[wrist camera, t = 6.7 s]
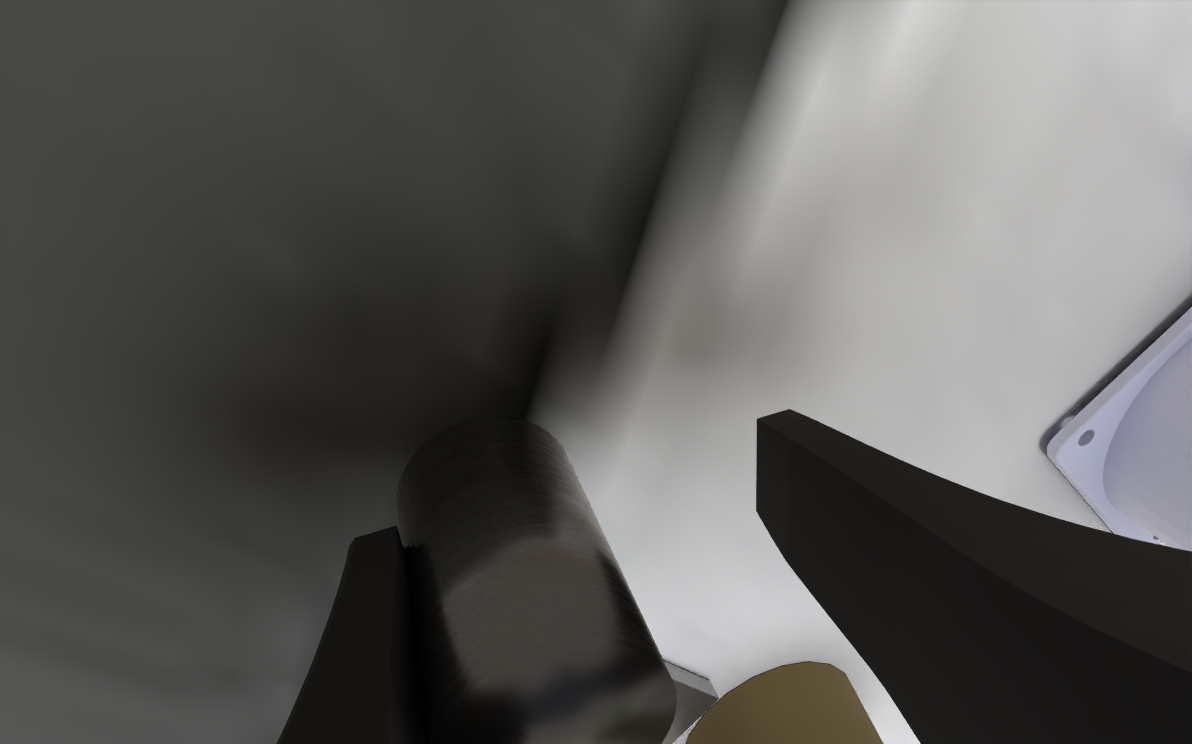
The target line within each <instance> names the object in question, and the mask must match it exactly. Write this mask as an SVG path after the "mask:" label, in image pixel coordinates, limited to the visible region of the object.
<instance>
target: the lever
mask: <svg viewBox="0 0 1192 744" xmlns="http://www.w3.org/2000/svg"><path fill="white" fill-rule="evenodd" d="M397 506H398V515H399V523H400V532H401V541H402V544H403V546H404V550H405V558H406V566H407V574H408V581H409V589H410V598H411V614H412V627H413V639H414V650H415V662H416V672H417V681H418V690H419V699H420V707H421V716H422V725H423V734H424V742H425V744H662V742H663V741H664V739H665V737H666V736H667V734H668V732H669V730H670V728H671V725H672V723H673V721H674V717H675V713H676V707H677V694H676V688H675V685H674V682H673V680H672V677H671V675H670V673H669V671H668V669H667V667H666V665H665V663H664V660H663V658H662V656H661V654H660V652H659V650H658V648H657V646H656V644H655V641H654V639H653V637H652V635H651V633H650V631H649V629H648V627H647V624H646V622H645V620H644V618H643V616H642V614H641V612H640V610H639V607H638V605H637V603H636V601H635V599H634V597H633V595H632V593H631V590H630V588H629V586H628V584H627V582H626V580H625V578H624V576H623V573H622V571H621V569H620V567H619V565H618V563H617V561H616V559H615V557H614V554H613V552H612V550H611V548H610V546H609V544H608V542H607V540H606V537H605V535H604V533H603V531H602V529H601V527H600V525H599V523H598V520H597V518H596V516H595V514H594V512H593V510H592V508H591V506H590V503H589V501H588V499H587V497H586V495H585V493H584V491H583V489H582V486H581V484H580V482H579V480H578V478H577V476H576V474H575V472H574V470H573V467H572V465H571V463H570V461H569V459H568V457H567V455H566V453H565V451H564V449H563V447H562V446H561V445H560V443H559V442H558V441H557V440H556V438H554V437H553V436H552V435H551V434H550V433H549V432H547V431H546V430H544V429H543V428H541V427H539V426H537V425H535V424H533V423H531V422H528V421H524V420H521V419H516V418H511V417H485V418H479V419H473V420H470V421H466V422H463V423H460V424H457V425H455V426H452V427H450V428H448V429H446V430H444V431H443V432H441V433H439V434H438V435H436V436H435V437H433V438H432V439H430V440H429V441H428V442H427V443H426V444H424V445H423V446H422V447H421V448H420V449H419V450H418V451H417V452H416V454H415V455H414V456H413V457H412V459H411V460H410V461H409V463H408V464H407V466H406V468H405V470H404V472H403V474H402V476H401V480H400V483H399V487H398V493H397Z"/></svg>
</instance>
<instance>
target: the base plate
mask: <svg viewBox="0 0 1192 744" xmlns="http://www.w3.org/2000/svg"><path fill="white" fill-rule="evenodd" d="M664 663H665V665H666V667H667V669H668V671H669V673H670V675H671V677H672V680H673V682H674V685H675V688H676V694H677V707H676V713H675V717H674V721H673V723H672V725H671V728H670V730H669V732H668V734H667V736H666V737H665V739H664V741H663V742H662V744H672V743H673V742H674V741H675V740H676V739H677V738H678V737H679V736H680V735H682V734H683V733H684V732H685V731H686V730H687V729H688V728H689V727H690V726H691V725H692V724H693V723H694V722H695V721H696V720H697V719H698V718H699V717H700V716H701V715H702V714H703V713H704V712H706V711H707V710H708V709H709V708H710V707H711V706H712V705H713V704H714V703H715V702H716V701H717V700H718V699H719V697H718V695H717V693H716V692H715V690H714V688H713V686H712V684H711V682H710V681H709V680H707V679H704V678H702V677H700V676H698V675H695V674H693V673H691V672H688V671H686V670H684V669H681V668H679V667H677V666H674V665H672V664H670V663H667V662H665V661H664Z"/></svg>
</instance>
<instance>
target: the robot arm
mask: <svg viewBox="0 0 1192 744" xmlns="http://www.w3.org/2000/svg"><path fill="white" fill-rule="evenodd" d="M1047 455H1048V457H1049V459H1050V460H1051V461H1052V462H1053V463H1054V464H1055V466H1056V467H1057V468H1058V469H1059V470H1060V471H1061V473H1062V474H1063V475H1064V476H1065V477H1066V478H1067V480H1068V481H1069V482H1070V483H1071V484H1072V485H1073V486H1074V488H1075V489H1076V490H1077V491H1078V492H1079V493H1080V495H1081V496H1082V497H1083V498H1084V499H1085V500H1086V502H1087V503H1088V504H1089V505H1090V506H1091V507H1092V509H1093V510H1094V511H1095V512H1096V513H1097V514H1098V516H1099V517H1100V518H1101V519H1102V520H1103V521H1104V523H1105V524H1106V525H1107V526H1108V527H1109V528H1110V530H1111V531H1112V532H1113V533H1114V534H1113V533H1109V532H1105V531H1101V530H1097V529H1093V528H1090V527H1086V526H1082V525H1078V524H1075V523H1071V522H1068V521H1064V520H1061V519H1057V518H1054V517H1051V516H1048V515H1045V514H1042V513H1038V512H1035V511H1032V510H1029V509H1026V508H1023V507H1020V506H1017V505H1014V504H1011V503H1008V502H1005V501H1002V500H999V499H996V498H993V497H991V496H988V495H985V494H982V493H980V492H977V491H974V490H972V489H969V488H967V487H964V486H962V485H959V484H957V483H954V482H952V481H949V480H946V479H944V478H941V477H939V476H937V475H934V474H932V473H929V472H927V471H925V470H922V469H920V468H918V467H915V466H913V465H911V464H908V463H906V462H904V461H902V460H899V459H897V458H895V457H893V456H891V455H888V454H886V453H884V452H882V451H880V450H877V449H875V448H873V447H871V446H869V445H867V444H865V443H862V442H860V441H858V440H856V439H854V438H852V437H850V436H848V435H845V434H843V433H841V432H839V431H837V430H835V429H833V428H831V427H829V426H826V425H824V424H822V423H820V422H818V421H816V420H813V419H811V418H809V417H807V416H805V415H802V414H800V413H798V412H795V411H793V410H790V409H788V410H785V411H781V412H778V413H775V414H771V415H768V416H765V417H761V418H758V419H757V479H756V511H757V513H758V515H759V516H760V518H761V520H762V522H763V523H764V525H765V527H766V529H767V530H768V532H769V534H770V536H771V537H772V539H773V541H774V542H775V544H776V545H777V547H778V549H779V550H780V552H781V554H782V555H783V557H784V558H785V560H786V561H787V563H788V564H789V565H790V567H791V568H792V569H793V571H794V572H795V573H796V575H797V576H798V577H799V578H800V580H801V581H802V582H803V584H804V585H805V586H806V587H807V589H808V590H809V591H810V593H811V594H812V595H813V596H814V598H815V599H816V600H817V602H818V603H819V604H820V605H821V607H822V608H823V609H824V610H825V612H826V613H827V614H828V615H829V617H830V618H831V619H832V620H833V622H834V623H835V624H836V625H837V627H838V628H839V629H840V631H841V632H842V633H843V634H844V636H845V637H846V638H847V639H848V641H849V642H850V643H851V644H852V646H853V647H854V648H855V649H856V651H857V652H858V653H859V655H860V656H861V657H862V658H863V660H864V661H865V662H866V663H867V665H868V666H869V667H870V669H871V670H872V671H873V673H874V674H875V675H876V677H877V678H878V680H879V681H880V682H881V684H882V685H883V686H884V688H885V689H886V691H887V692H888V693H889V695H890V697H891V698H892V700H893V701H894V703H895V704H896V706H897V707H898V709H899V711H900V712H901V714H902V715H903V717H904V718H905V720H906V721H907V723H908V725H909V726H910V728H911V729H912V731H913V732H914V734H915V735H916V737H917V738H918V740H919V742H920V743H921V744H1192V307H1191V308H1190V309H1189V310H1188V311H1187V312H1186V313H1185V314H1184V315H1182V316H1181V317H1180V318H1179V319H1178V320H1177V321H1176V322H1175V323H1174V324H1173V325H1172V326H1171V327H1170V328H1169V329H1168V330H1166V331H1165V332H1164V333H1163V334H1162V335H1161V336H1160V337H1159V338H1158V339H1157V340H1156V341H1155V342H1154V343H1153V344H1152V345H1151V346H1149V347H1148V348H1147V349H1146V350H1145V351H1144V352H1143V353H1142V354H1141V355H1140V356H1139V357H1138V358H1137V359H1136V360H1135V361H1134V362H1132V363H1131V364H1130V365H1129V366H1128V367H1127V368H1126V369H1125V370H1124V371H1123V372H1122V373H1121V374H1120V375H1119V376H1118V377H1116V378H1115V379H1114V380H1113V381H1112V382H1111V383H1110V384H1109V385H1108V386H1107V387H1106V388H1105V389H1104V390H1103V391H1102V392H1101V393H1099V394H1098V395H1097V396H1096V397H1095V398H1094V399H1093V400H1092V401H1091V402H1090V403H1089V404H1088V405H1087V406H1086V407H1085V408H1084V409H1082V410H1081V411H1080V412H1079V413H1078V414H1077V415H1076V416H1075V417H1074V418H1073V419H1072V420H1071V421H1070V422H1069V423H1068V424H1066V425H1065V426H1064V427H1063V428H1062V429H1061V430H1060V431H1059V432H1058V433H1057V434H1056V435H1055V436H1054V437H1053V438H1052V439H1051V440H1050V442H1049V444H1048V446H1047ZM1161 541H1163V542H1165V543H1166V544H1167V545H1169V546H1170V547H1168V546H1163V545H1159V544H1158V543H1160V542H1161ZM277 744H425V742H424V734H423V725H422V716H421V707H420V699H419V690H418V681H417V672H416V662H415V650H414V639H413V627H412V614H411V598H410V589H409V581H408V574H407V566H406V558H405V550H404V546H403V544H402V541H401V538H400V535H399V532H398V529H397V526H394V527H390V528H387V529H384V530H380V531H377V532H374V533H370V534H367V535H363V536H360V537H357V538H355V539H354V540H353V542H352V543H351V545H350V547H349V551H348V555H347V560H346V563H345V567H344V571H343V575H342V578H341V581H340V585H339V588H338V591H337V595H336V598H335V601H334V604H333V607H332V610H331V613H330V616H329V619H328V622H327V624H326V627H325V630H324V632H323V635H322V638H321V641H320V643H319V646H318V649H317V651H316V654H315V657H314V660H313V662H312V665H311V667H310V670H309V672H308V674H307V677H306V679H305V681H304V684H303V686H302V688H301V691H300V693H299V695H298V698H297V700H296V702H295V704H294V707H293V709H292V711H291V714H290V716H289V718H288V721H287V723H286V725H285V727H284V729H283V731H282V734H281V736H280V738H279V740H278V742H277Z"/></svg>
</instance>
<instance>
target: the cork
mask: <svg viewBox="0 0 1192 744" xmlns="http://www.w3.org/2000/svg"><path fill="white" fill-rule="evenodd" d="M686 744H883V742H882V740H881V738H880V736H879V735H878V733H877V731H876V729H875V727H874V725H873V724H872V722H871V720H870V718H869V716H868V714H867V712H866V711H865V709H864V707H863V705H862V703H861V701H860V700H859V698H858V696H857V694H856V692H855V690H854V688H853V687H852V685H851V683H850V681H849V679H848V677H847V676H846V674H845V673H844V672H842V671H840V670H839V669H837V668H835V667H834V666H832V665H830V664H822V663H815V662H804V663H798V664H792V665H786V666H781V667H778V668H776V669H773V670H771V671H768V672H766V673H763V674H760V675H758V676H755V677H753V678H751V679H750V680H748V681H747V682H745V683H743V684H742V685H740V686H738V687H737V688H735V689H734V690H732V691H730V692H729V693H727V694H726V695H725V696H724V697H722V698H721V699H720V700H719V701H718V702H717V703H716V704H715V705H714V706H713V707H711V708H710V709H709V710H708V711H707V712H706V713H705V714H704V715H703V716H702V718H701V719H700V721H699V722H698V723H697V725H696V726H695V728H694V729H693V731H692V732H691V733H690V735H689V736H688V739H687V743H686Z"/></svg>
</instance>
